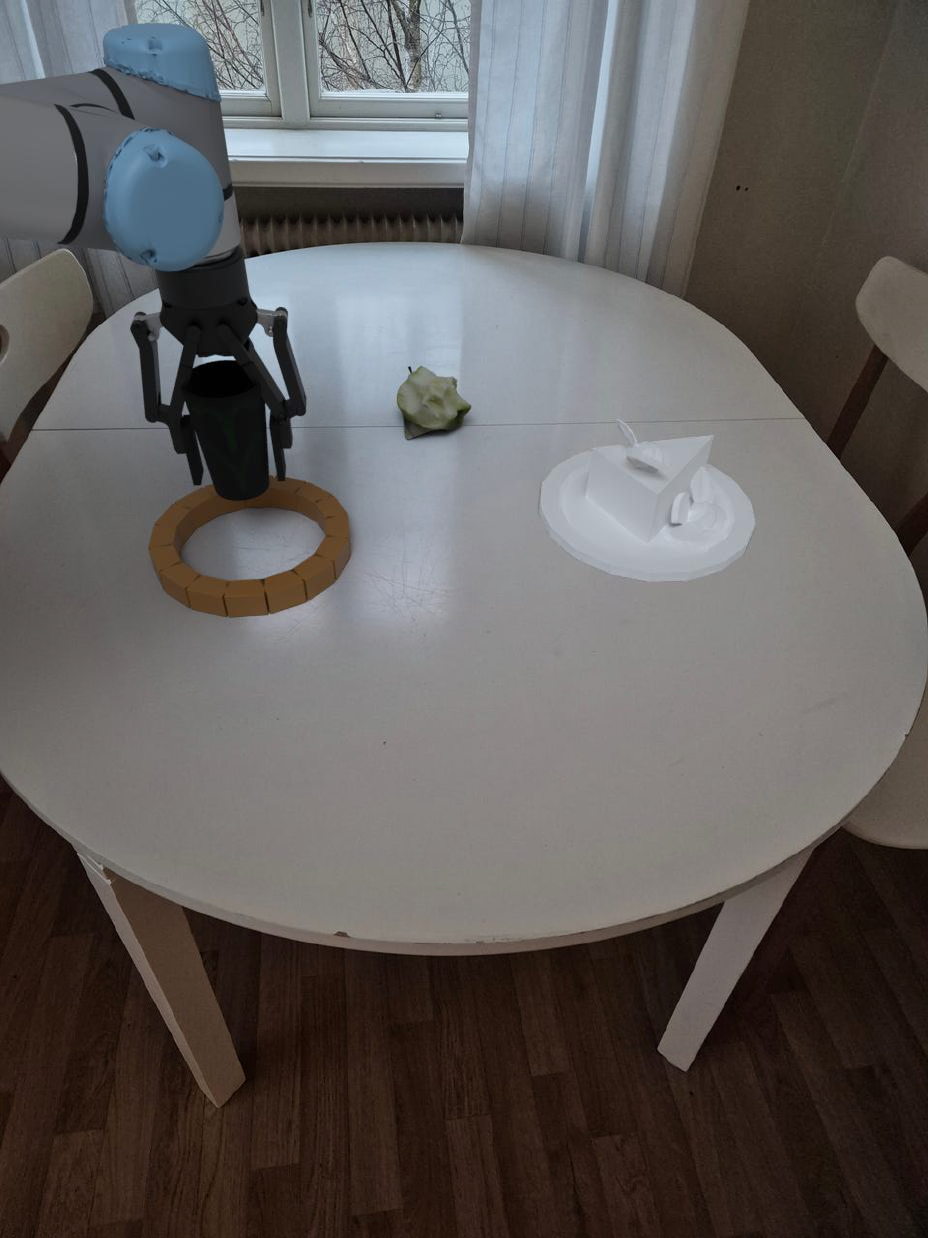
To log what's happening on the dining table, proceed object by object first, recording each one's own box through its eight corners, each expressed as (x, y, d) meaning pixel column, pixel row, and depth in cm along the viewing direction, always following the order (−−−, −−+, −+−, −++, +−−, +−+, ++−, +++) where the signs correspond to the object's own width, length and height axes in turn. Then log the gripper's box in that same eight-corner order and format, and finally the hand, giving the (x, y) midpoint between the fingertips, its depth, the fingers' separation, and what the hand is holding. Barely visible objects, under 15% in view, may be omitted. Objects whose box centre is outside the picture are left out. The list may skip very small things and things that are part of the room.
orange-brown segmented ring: (142, 623, 86) (135, 602, 84) (169, 499, 101) (163, 480, 99) (352, 609, 88) (350, 589, 86) (348, 490, 103) (346, 471, 101)
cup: (295, 478, 90) (280, 372, 81) (246, 515, 85) (225, 407, 77) (238, 456, 93) (218, 352, 84) (188, 491, 88) (161, 384, 79)
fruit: (391, 420, 118) (393, 361, 113) (458, 420, 119) (462, 362, 115) (401, 444, 110) (403, 382, 106) (472, 444, 112) (477, 383, 108)
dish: (636, 612, 89) (656, 525, 81) (497, 492, 104) (502, 408, 96) (797, 533, 99) (828, 449, 91) (649, 434, 114) (665, 354, 106)
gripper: (59, 269, 69) (131, 502, 84) (319, 262, 71) (342, 491, 86) (79, 234, 74) (142, 460, 90) (320, 229, 76) (341, 450, 92)
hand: (240, 475), depth 88 cm, fingers closed on cup, 8 cm apart
